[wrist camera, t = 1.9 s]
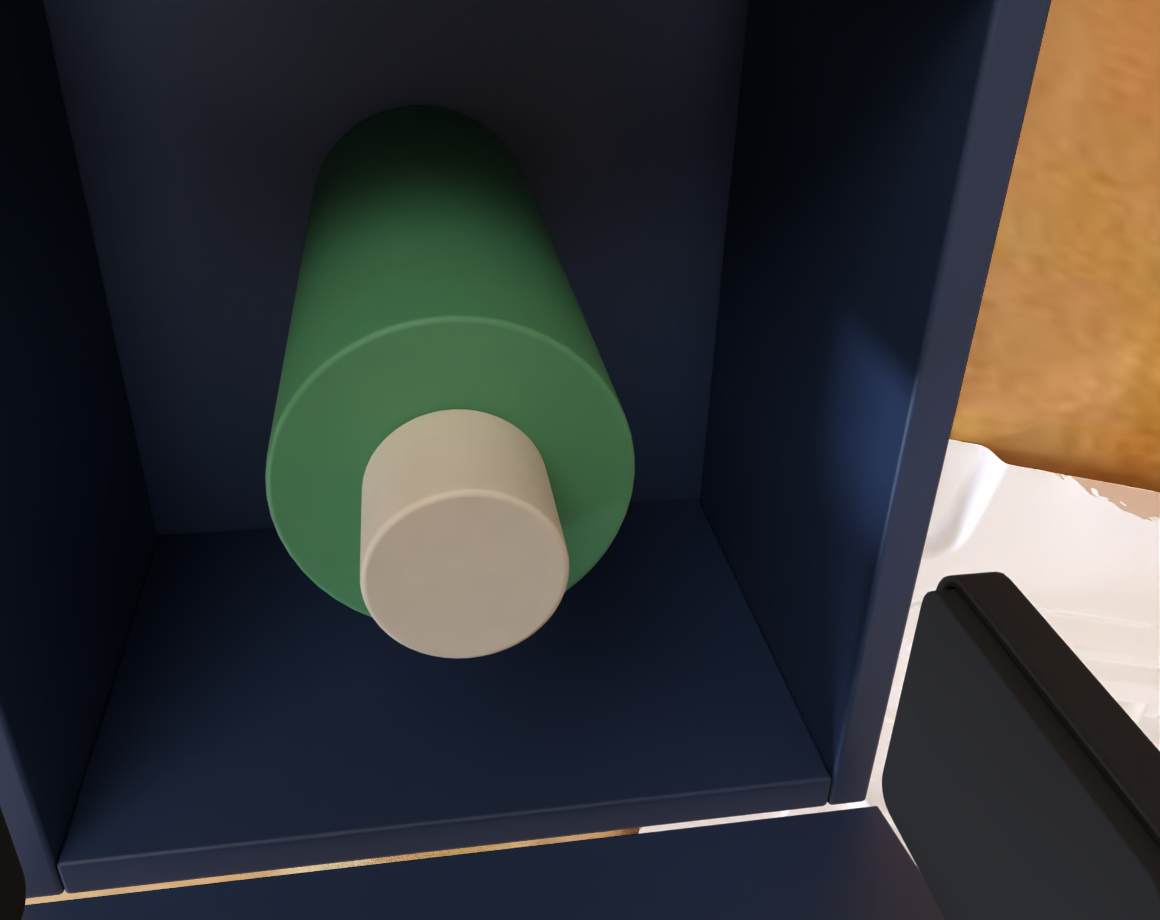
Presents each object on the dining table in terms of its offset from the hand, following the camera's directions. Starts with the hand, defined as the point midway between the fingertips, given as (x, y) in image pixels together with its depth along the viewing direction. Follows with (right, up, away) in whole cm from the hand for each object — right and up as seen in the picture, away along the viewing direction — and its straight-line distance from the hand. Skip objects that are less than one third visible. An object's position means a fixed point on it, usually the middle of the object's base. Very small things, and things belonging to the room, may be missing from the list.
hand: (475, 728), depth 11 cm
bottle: (-2, +8, +13) cm, 16 cm away
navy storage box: (-3, +8, +14) cm, 16 cm away
